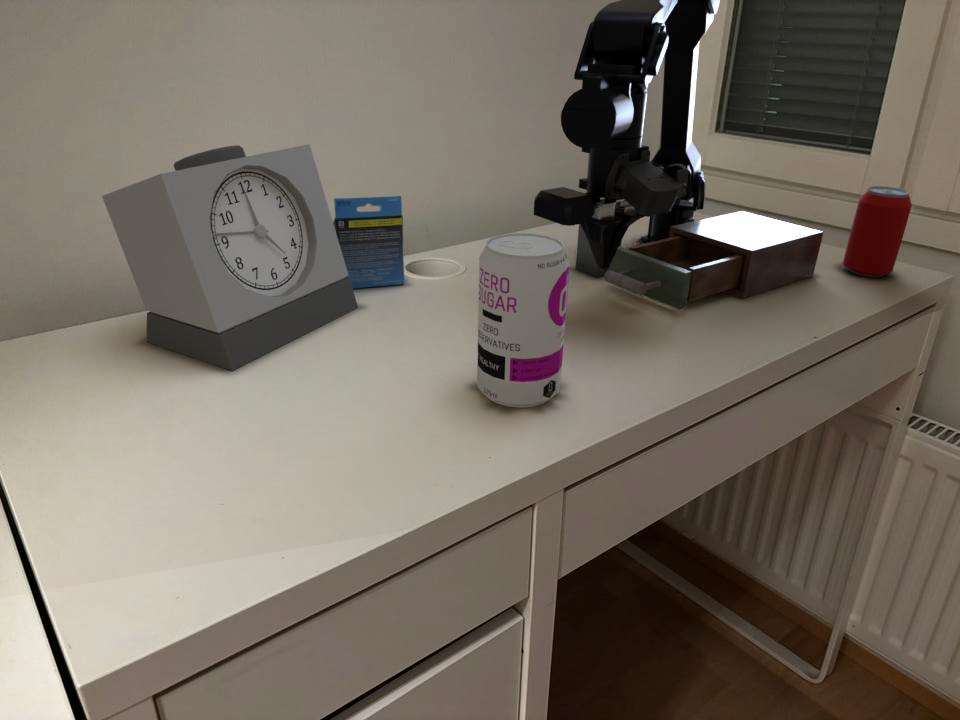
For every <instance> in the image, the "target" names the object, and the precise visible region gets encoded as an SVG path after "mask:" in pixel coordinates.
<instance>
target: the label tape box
mask: <svg viewBox="0 0 960 720" xmlns="http://www.w3.org/2000/svg"><path fill="white" fill-rule="evenodd" d="M333 204H334V219H333V220H332V221H333V224H334V228H335V231H336V235H337V238H338V241H339V245H340V248H341V251H342V255H343V258H344V261H345V265H346V268H347V272H348V275H349V276H347V277H348V278H350V281H351V285H352V288H353V290H356V289H365V288H371V287H385V286H398V285H399V286H400V285H405V259H404V257H405V255H404V254H405V253H404V252H405V251H404V216H403V211H402V210H403V209H402V208H403V205H402V195H394V196H392V195H391V196H390V195H389V196H365V197H364V196H361V197H334V198H333ZM367 205H370V206H371V207H377V208H379V209H378V210H368V211H367V210H365V211H364V210H363V211H359V210H358V208H361V207H362V208H364V207H366V206H367Z"/></svg>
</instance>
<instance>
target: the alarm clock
mask: <svg viewBox="0 0 960 720" xmlns="http://www.w3.org/2000/svg"><path fill="white" fill-rule="evenodd" d="M173 168H174V170H173V171H168V172H164V173H159V174H156V175H154V176H151V177H148V178H146V179H143V180H140V181H137V182H135V183H133V184H129V185H127V186H125V187H121V188H119V189H117V190H114V191H112V192H109V193H106V194H104V195H101V198H102V200H103V203H104V205H105V208H106V211H107V213H108V217H109V218H110V222H111V223H112V227H113V228H114V232H115V233H116V236H117V239H118V242H119V244H120V246H121V250H122V252H123V255H124V257H125V259H126V262H127V265H128V268H129V270H130V273H131V275H132V278H133V281H134V283H135V285H136V288H137V290H138V293H139V295H140V298H141V301H142V303H143V307H144V308H145V311H147V312H146V337H145V338H146V339H145V341H146V343H150V344H151V345H155V346H158V347H159V348H163V349H166V350H170V351H173V352H176V353H179V354H180V355H184V356H187V357H190V358H193V359H195V360H198V361H201V362H205V363H207V364H211V365H214V366H215V367H216V366H217V367H219V368H222V369H225V370H229V371H231V372H233V371H235V370H237V369H239V368H241V367H243V366H245V365H247V364H249V363H252V362H254V361H255V360H257V359H259V358H261V357H263V356H265V355H267V354H269V353H271V352H274V351H275V350H277V349H279V348H281V347H284V346H285V345H287V344H289V343H291V342H293V341H295V340H297V339H299V338H301V337H303V336H305V335H307V334H309V333H311V332H313V331H315V330H317V329H319V328H321V327H323V326H325V325H327V324H329V323H331V322H333V321H334V320H337V319H339V318H340V317H343V316H345V315H347V314H348V313H351V312H352V311H354V310H356V309H358V308H359V305H358V302H357V299H356V296H355V293H354V289H353V288H352V285H351V281H350V278H348V277H347V276H349V275H348V272H347V268H346V265H345V261H344V258H343V255H342V251H341V248H340V245H339V241H338V238H337V235H336V231H335V228H334V224H333V221H334V220H333V217H332V215H331V212H330V208H329V205H328V201H327V197H326V195H325V191H324V188H323V184H322V181H321V178H320V174H319V171H318V168H317V164H316V161H315V158H314V155H313V151H312V147H311V144H310V143H309V144H303V145H298V146H294V147H293V146H292V147H288V148H283V149H277V150H273V151H268V152H262V153H258V154H253V155H246V152H245V150H244V148H243V147H242V146H241V145H239V144H237V145H228V146H222V147H217V148H213V149H209V150H205V151H202V152H197V153H195V154H192V155H188V156H185V157H182V158H181V159H179V160H177V161H175V162H174V163H173Z"/></svg>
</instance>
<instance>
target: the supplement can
mask: <svg viewBox="0 0 960 720" xmlns="http://www.w3.org/2000/svg"><path fill="white" fill-rule="evenodd" d="M485 243H486V245H485V246H484V248H483V250H482V252H481V254H479V257H478V303H477V304H478V305H477V306H478V307H477V308H478V310H477V311H478V313H477V314H478V315H477V361H476V362H477V365H476V366H477V367H476V370H477V372H476V383H477V384H476V385H477V386H476V387H477V388H478V390H479V391H480V392H481V394H483V395H484V396H485V398H487V399H488V400H490V401H491V402H493V403H495V404H497V405H500V406H504V407H508V408H518V409H522V408H523V409H524V408H534V407H537V406H541V405H543V404H545V403H547V402H548V401H549V400H551V399H552V398H553V397H554V396H556V395H558V392H559V391H560V389H561V384H562V383H561V381H562V371H563V369H562V368H563V356H564V355H563V354H564V343H565V329H566V318H567V314H566V313H567V303H568V292H569V291H568V290H569V277H570V265H571V264H570V261H569V258H568V256H567V253H566V252H565V245H564V243H563V242H562V241H561V240H559V239H557V238H555V237H551V236H548V235H544V234H538V233H529V232H528V233H527V232H515V233H514V232H512V233H511V232H510V233H504V234H498V235H495V236H492V237H490V238H489V239H487V241H485Z"/></svg>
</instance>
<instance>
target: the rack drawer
mask: <svg viewBox="0 0 960 720" xmlns="http://www.w3.org/2000/svg"><path fill="white" fill-rule="evenodd" d="M745 258H746V255H744V254H741V253H738V252H734V251H731V250H728V249H725V248H721V247H718V246H715V245H712V244H708V243H705V242H702V241H699V240H695V239H692V238H689V237H686V236H682V235H679V236H675V237H671V238H666V239H662V240H658V241H653V242H646V243H641V244H637V245H632V246H628V248H626V247H623V246H621V247H620V246H619V247H618V249H617V251H616V253H615V255H614V257H613V260H612V262H611V264H610V270H608V271H607V272H606V273H605V275H604V276H603V279H604V282H606V283H608V284H611V285H612V286H613V285H614V286H616V287H618V288H620V289H623V290H626V291H627V292H631V293H633V294H635V295H638V296H645V297H647V298H649V299H652V300H654V301H657V302H659V303H662V304H664V305H667V306H669V307H672V308H674V309H677V310H678V311H681V310H685V309H686V308H687V303H689V302H693V301H696V300H699V299H702V298H705V297H709V296H713V295H716V294H719V293H722V292H724V291H725V290H729V289H732V288H735V287H738V286H740V284H741V279H742V274H743V269H744V263H745Z"/></svg>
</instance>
